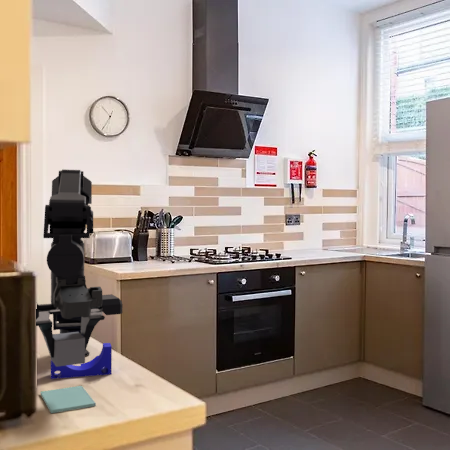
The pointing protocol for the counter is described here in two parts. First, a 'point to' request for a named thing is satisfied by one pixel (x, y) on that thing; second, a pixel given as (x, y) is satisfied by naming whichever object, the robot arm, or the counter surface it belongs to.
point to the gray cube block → (68, 349)
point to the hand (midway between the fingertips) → (67, 355)
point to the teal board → (67, 399)
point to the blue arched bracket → (87, 366)
